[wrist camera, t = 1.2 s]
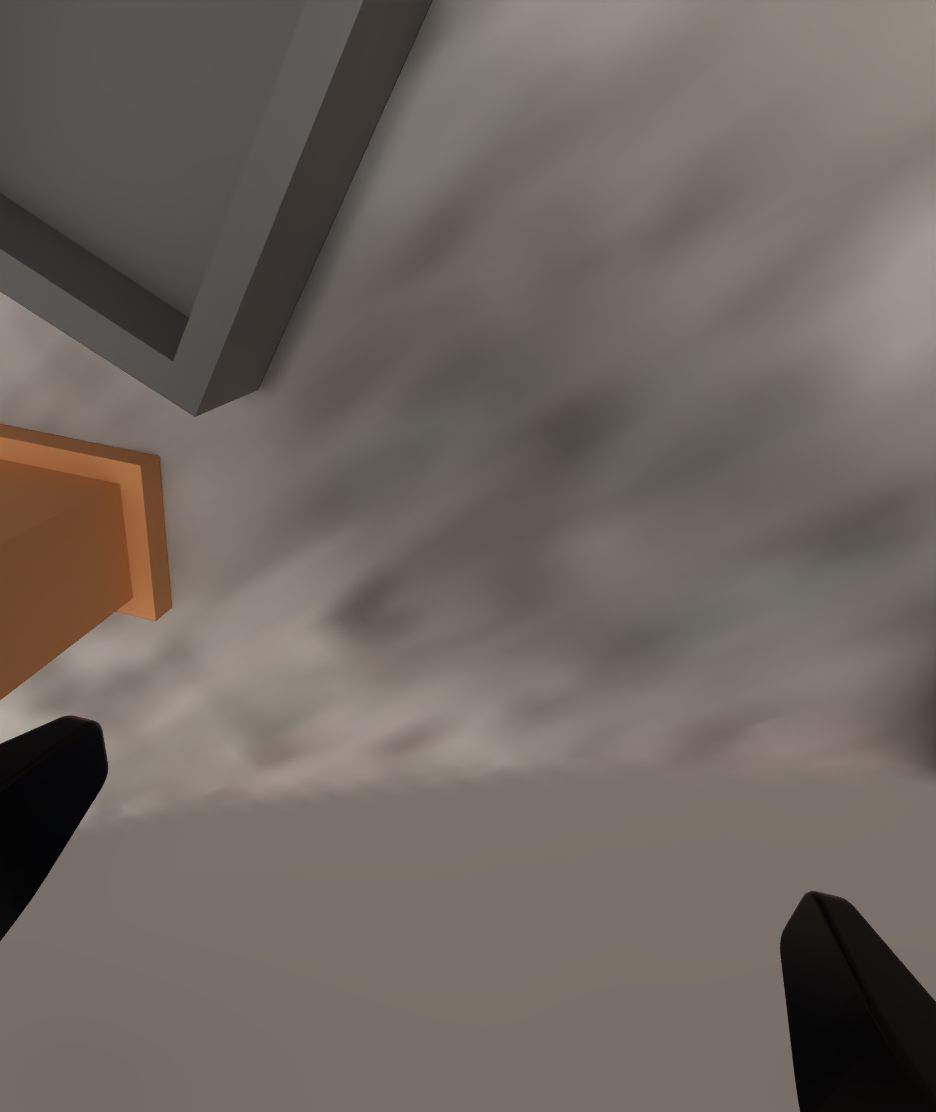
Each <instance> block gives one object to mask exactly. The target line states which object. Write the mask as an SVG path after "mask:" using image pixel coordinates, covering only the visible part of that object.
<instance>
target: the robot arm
mask: <svg viewBox="0 0 936 1112" xmlns="http://www.w3.org/2000/svg"><path fill="white" fill-rule="evenodd" d="M107 774H108V761H107V755H106V749H105V743H104V737H103V731H102V727H101V726H100V724H99V723H98V722H96V721H93V720H89V719H85V718H81V717H77V716H64V717H61V718H58V719H56V720H54V721H51V722H49V723H47V724H45V725H42V726H40V727H38V728H35V729H33V730H31V731H29V732H26V733H24V734H22V735H19V736H17V737H15V738H12V739H10V740H8V741H6V742H3V743H1V744H0V941H1V940H2V938H3V937H4V936H5V934H6V933H7V932H8V930H9V929H10V928H11V926H12V925H13V924H14V922H15V921H16V920H17V918H18V917H19V916H20V914H21V913H22V912H23V910H24V909H25V908H26V906H27V905H28V903H29V902H30V901H31V899H32V898H33V896H34V895H35V893H36V892H37V890H38V889H39V887H40V886H41V884H42V883H43V881H44V879H45V878H46V877H47V875H48V873H49V872H50V870H51V869H52V867H53V865H54V863H55V862H56V861H57V859H58V857H59V856H60V854H61V852H62V851H63V849H64V848H65V846H66V844H67V843H68V841H69V840H70V838H71V836H72V835H73V833H74V832H75V830H76V828H77V827H78V825H79V824H80V822H81V820H82V819H83V817H84V816H85V814H86V812H87V811H88V809H89V807H90V806H91V804H92V803H93V801H94V799H95V798H96V796H97V795H98V793H99V791H100V790H101V788H102V786H103V784H104V782H105V780H106V777H107ZM780 953H781V963H782V972H783V980H784V988H785V997H786V1006H787V1015H788V1023H789V1032H790V1041H791V1050H792V1058H793V1066H794V1075H795V1082H796V1089H797V1096H798V1103H799V1107H800V1112H936V1002H935V1000H934V999H933V998H932V997H931V996H930V995H929V993H928V992H927V991H926V990H925V989H924V988H923V986H922V985H921V984H920V983H919V982H918V981H917V980H916V978H915V977H914V976H913V975H912V974H911V972H909V970H908V969H907V968H906V967H905V965H904V964H903V963H902V962H901V961H900V960H899V959H898V957H897V956H896V955H895V954H894V953H893V952H892V950H891V949H890V948H889V947H888V946H887V944H886V943H885V942H884V941H883V940H882V939H881V937H880V936H879V935H878V934H877V933H876V932H875V931H874V929H873V928H872V927H871V926H870V925H869V924H868V922H867V921H866V920H865V919H864V918H863V917H862V916H861V914H860V913H859V912H858V911H857V910H856V908H855V907H854V906H853V905H852V904H851V903H849V902H848V901H847V900H845V899H844V898H841V897H838V896H834V895H829V894H825V893H821V892H816V891H810V892H808V893H806V894H805V895H804V896H803V898H802V899H801V901H800V903H799V904H798V906H797V908H796V909H795V911H794V913H793V915H792V916H791V918H790V920H789V921H788V923H787V925H786V926H785V928H784V930H783V933H782V936H781V943H780Z"/></svg>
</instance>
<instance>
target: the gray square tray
mask: <svg viewBox="0 0 936 1112" xmlns="http://www.w3.org/2000/svg"><path fill="white" fill-rule="evenodd" d="M431 2H432V0H0V292H2V293H3V294H5V295H7V296H8V297H10V298H11V299H13V300H14V301H16V302H17V303H19V304H21V305H22V306H24V307H25V308H27V309H28V310H30V311H31V312H33V313H35V314H36V315H38V316H39V317H41V318H42V319H44V320H45V321H47V322H49V323H50V324H52V325H53V326H55V327H56V328H58V329H59V330H61V331H62V332H64V333H66V334H67V335H69V336H70V337H72V338H73V339H75V340H76V341H78V342H80V343H81V344H83V345H84V346H86V347H87V348H89V349H90V350H92V351H94V352H95V353H97V354H98V355H100V356H101V357H103V358H104V359H106V360H107V361H109V362H111V363H112V364H114V365H115V366H117V367H118V368H120V369H121V370H123V371H125V372H126V373H128V374H129V375H131V376H132V377H134V378H135V379H137V380H139V381H140V382H142V383H143V384H145V385H146V386H148V387H149V388H151V389H153V390H154V391H156V392H157V393H159V394H160V395H162V396H163V397H165V398H166V399H168V400H170V401H171V402H173V403H174V404H176V405H177V406H179V407H180V408H182V409H184V410H185V411H187V412H188V413H190V414H191V415H193V416H194V417H196V416H198V415H200V414H203V413H205V412H207V411H210V410H212V409H214V408H217V407H219V406H221V405H224V404H226V403H228V402H231V401H233V400H235V399H238V398H240V397H242V396H245V395H247V394H249V393H252V392H254V391H256V390H258V388H259V386H260V383H261V381H262V379H263V377H264V374H265V372H266V370H267V368H268V365H269V363H270V361H271V359H272V357H273V354H274V352H275V350H276V348H277V345H278V343H279V341H280V339H281V336H282V334H283V332H284V330H285V328H286V325H287V323H288V321H289V319H290V316H291V314H292V312H293V310H294V307H295V305H296V303H297V301H298V299H299V296H300V294H301V292H302V290H303V287H304V285H305V283H306V281H307V278H308V276H309V274H310V272H311V270H312V267H313V265H314V263H315V261H316V258H317V256H318V254H319V252H320V249H321V247H322V245H323V243H324V241H325V238H326V236H327V234H328V232H329V229H330V227H331V225H332V223H333V220H334V218H335V216H336V214H337V212H338V209H339V207H340V205H341V203H342V200H343V198H344V196H345V194H346V191H347V189H348V187H349V185H350V183H351V180H352V178H353V176H354V174H355V171H356V169H357V167H358V165H359V162H360V160H361V158H362V156H363V154H364V151H365V149H366V147H367V145H368V142H369V140H370V138H371V136H372V133H373V131H374V129H375V127H376V125H377V122H378V120H379V118H380V116H381V113H382V111H383V109H384V107H385V104H386V102H387V100H388V98H389V96H390V93H391V91H392V89H393V87H394V84H395V82H396V80H397V78H398V75H399V73H400V71H401V69H402V67H403V64H404V62H405V60H406V58H407V55H408V53H409V51H410V49H411V46H412V44H413V42H414V40H415V38H416V35H417V33H418V31H419V29H420V26H421V24H422V22H423V20H424V18H425V15H426V13H427V11H428V9H429V6H430V4H431Z"/></svg>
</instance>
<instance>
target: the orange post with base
mask: <svg viewBox="0 0 936 1112" xmlns="http://www.w3.org/2000/svg"><path fill="white" fill-rule="evenodd" d="M170 608H172V604H171V592H170V580H169V568H168V556H167V544H166V532H165V521H164V509H163V497H162V485H161V473H160V461H159V456H155V455H150V454H145V453H140V452H135V451H130V450H125V449H121V448H116V447H111V446H106V445H101V444H96V443H91V442H86V441H81V440H76V439H71V438H66V437H61V436H56V435H51V434H46V433H42V432H37V431H32V430H27V429H22V428H17V427H12V426H7V425H2V424H0V700H1V699H2V698H4V697H5V696H6V695H8V694H9V693H10V692H11V691H13V690H14V689H15V688H17V687H18V686H19V685H21V684H22V683H23V682H24V681H26V680H27V679H28V678H30V677H31V676H32V675H34V674H35V673H36V672H37V671H39V670H40V669H41V668H43V667H44V666H45V665H47V664H48V663H49V662H50V661H52V660H53V659H54V658H56V657H57V656H58V655H60V654H61V653H62V652H64V651H65V650H66V649H67V648H69V647H70V646H71V645H73V644H74V643H75V642H77V641H78V640H79V639H80V638H82V637H83V636H84V635H86V634H87V633H88V632H90V631H91V630H92V629H93V628H95V627H96V626H97V625H99V624H100V623H101V622H103V621H104V620H105V619H106V618H108V617H109V616H110V615H112V614H113V613H114V612H118V613H122V614H126V615H131V616H135V617H140V618H144V619H148V620H153V621H157V620H158V619H159V618H160V617H161V616H162V615H164V614H165V613H166V612H167V611H168V610H169V609H170Z"/></svg>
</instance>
